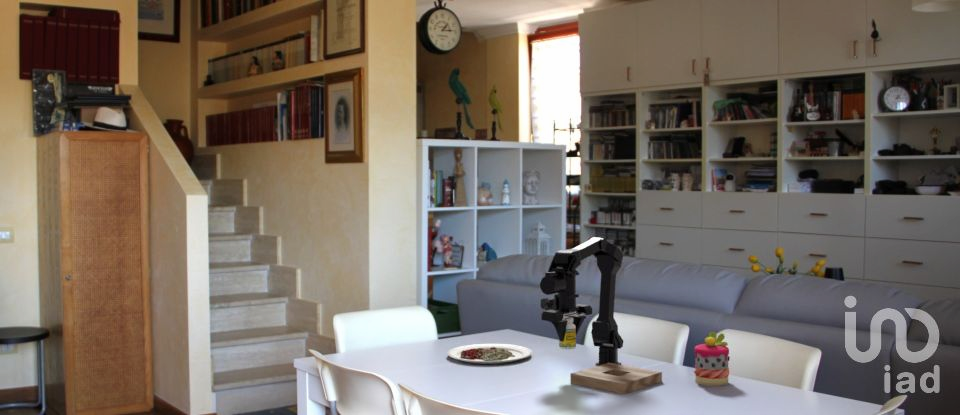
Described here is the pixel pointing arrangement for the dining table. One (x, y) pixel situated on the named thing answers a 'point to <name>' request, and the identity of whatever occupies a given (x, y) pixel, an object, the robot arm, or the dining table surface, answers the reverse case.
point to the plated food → (489, 353)
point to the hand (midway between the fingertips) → (567, 339)
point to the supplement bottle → (569, 335)
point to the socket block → (616, 377)
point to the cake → (712, 361)
